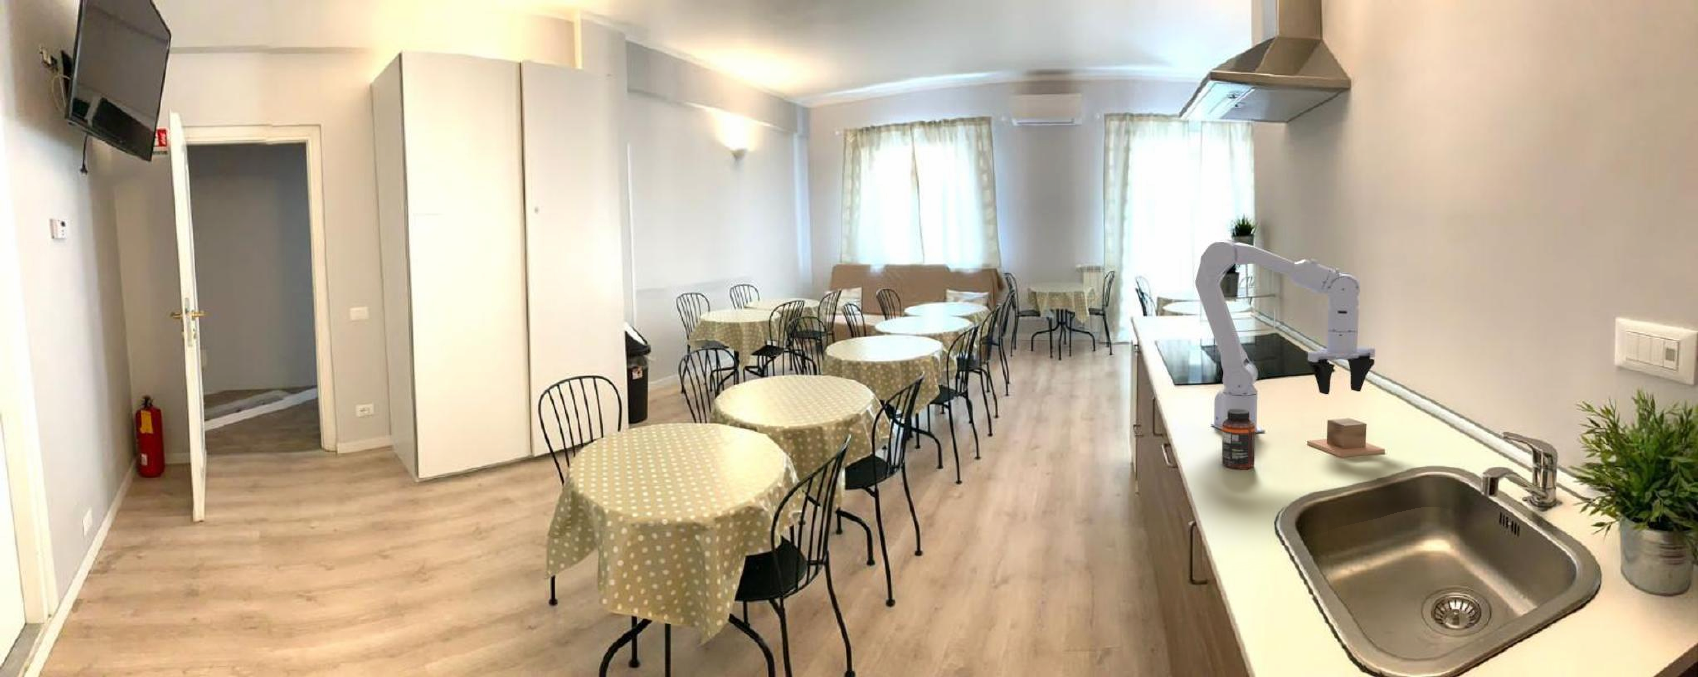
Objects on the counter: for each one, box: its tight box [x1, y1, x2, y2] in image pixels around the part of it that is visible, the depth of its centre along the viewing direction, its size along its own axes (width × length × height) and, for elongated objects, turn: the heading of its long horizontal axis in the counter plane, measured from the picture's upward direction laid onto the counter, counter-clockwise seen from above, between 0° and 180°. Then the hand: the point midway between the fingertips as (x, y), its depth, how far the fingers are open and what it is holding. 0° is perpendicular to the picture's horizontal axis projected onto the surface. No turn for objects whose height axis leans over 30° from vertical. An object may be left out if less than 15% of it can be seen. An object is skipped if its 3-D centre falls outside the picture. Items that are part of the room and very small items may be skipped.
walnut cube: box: [1326, 417, 1367, 449], centre depth 175 cm, size 5×5×5 cm
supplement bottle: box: [1221, 409, 1256, 470], centre depth 167 cm, size 6×6×11 cm
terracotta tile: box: [1306, 438, 1386, 458], centre depth 175 cm, size 10×10×1 cm
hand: (1340, 392), depth 181 cm, fingers open, 7 cm apart
